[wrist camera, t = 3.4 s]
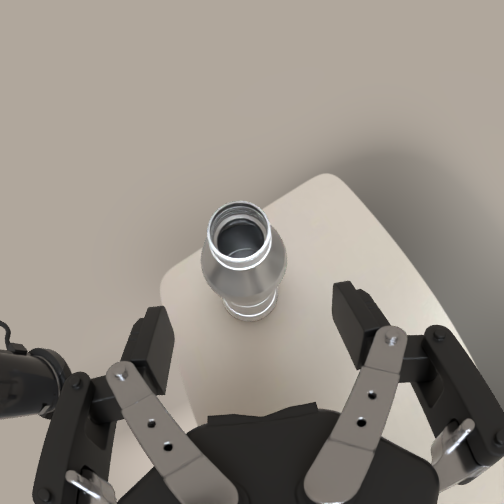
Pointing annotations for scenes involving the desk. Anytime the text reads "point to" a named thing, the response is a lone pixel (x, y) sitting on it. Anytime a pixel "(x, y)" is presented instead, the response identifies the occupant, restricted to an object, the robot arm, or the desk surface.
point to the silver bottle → (244, 260)
